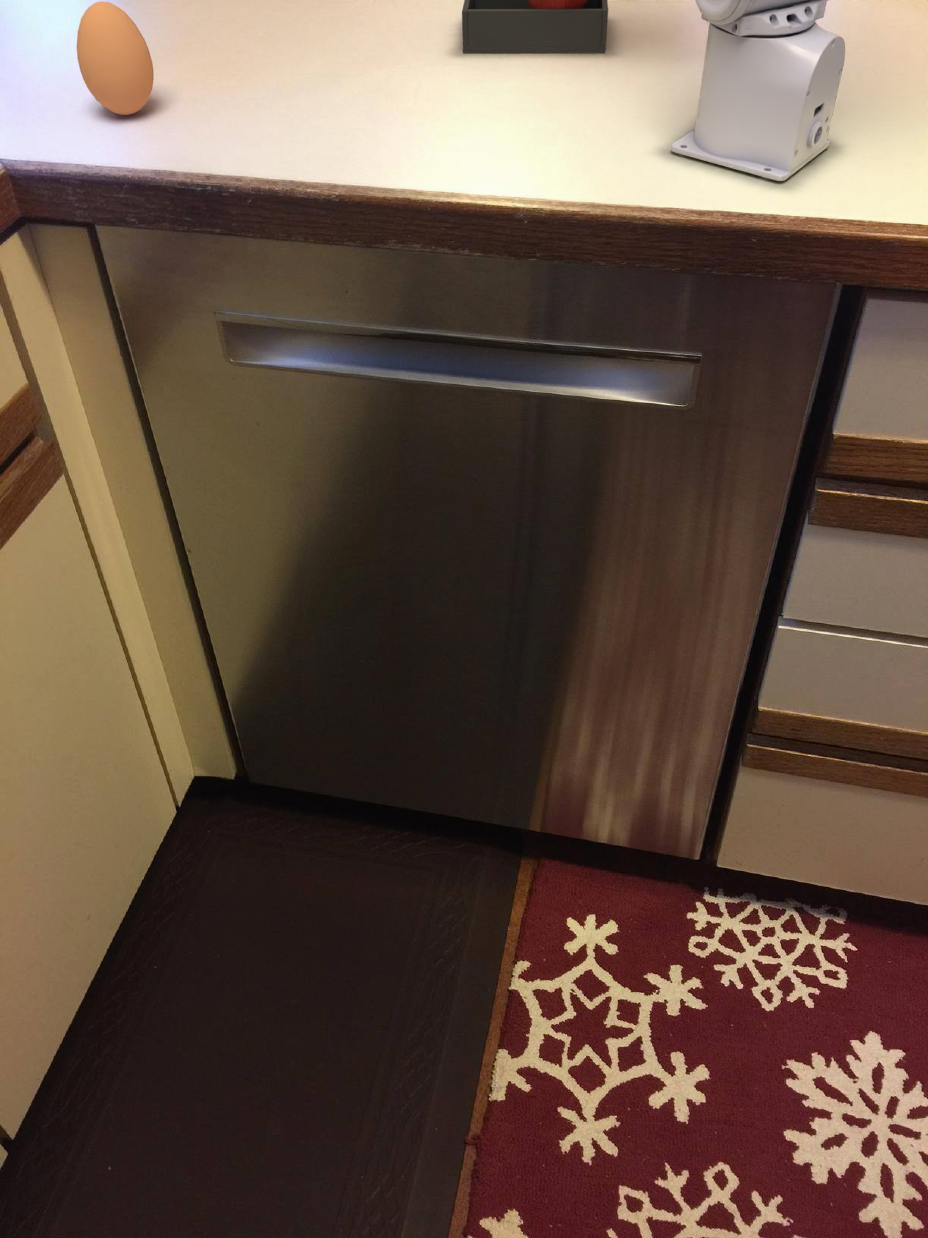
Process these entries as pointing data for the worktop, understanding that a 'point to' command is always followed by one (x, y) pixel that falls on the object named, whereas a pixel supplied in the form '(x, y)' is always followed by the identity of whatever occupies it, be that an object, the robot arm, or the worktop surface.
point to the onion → (557, 4)
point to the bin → (533, 27)
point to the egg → (114, 59)
